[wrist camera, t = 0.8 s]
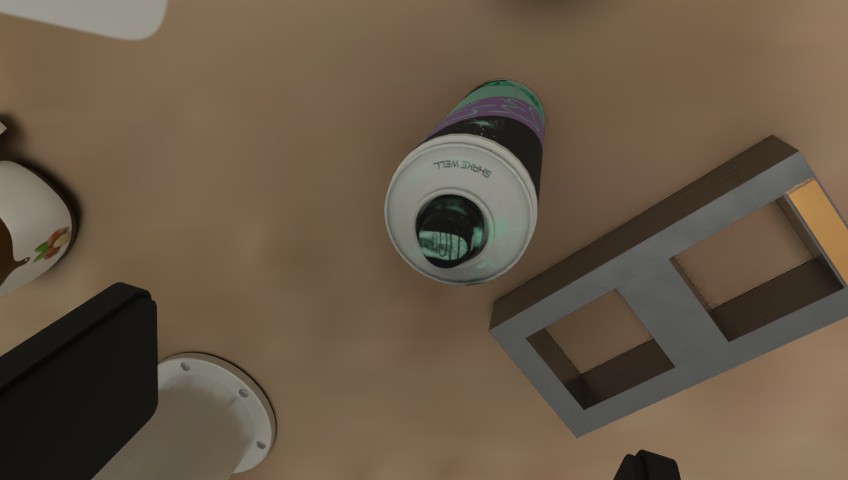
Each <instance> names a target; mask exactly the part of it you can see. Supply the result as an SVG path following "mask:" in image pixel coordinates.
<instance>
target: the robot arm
mask: <svg viewBox="0 0 848 480" xmlns="http://www.w3.org/2000/svg"><path fill="white" fill-rule="evenodd" d="M275 430H276V424H275V419H274V414H273V411H272V409H271V406H270V404H269V402H268V400H267V399H266V397H265V395H264V394H263V392H262V391H261V389H260V388H259V387H258V386H257V385H256V384H255V383H254V381H253V380H252V379H250V378H249V377H248V376H247V375H246V374H245V373H243V372H242V371H241V370H239V369H238V368H236V367H235V366H233V365H232V364H230V363H228V362H226V361H223V360H221V359H219V358H216V357H213V356H209V355H206V354H199V353H181V354H177V355H173V356H170V357H168V358H166V359H165V360H163V361H161V362H160V363H159V364H158V351H157V306H156V303H155V301H153V300H152V299H151V295H150V293H149V292H148V291H147V290H144V289H141V288H138V287H135V286H132V285H128V284H125V283H122V282H119V283H115V284H113V285H111V286H110V287H108V288H107V289H105V290H104V291H102V292H101V293H99V294H97V295H96V296H94V297H93V298H91V299H90V300H88V301H86V302H85V303H83V304H82V305H80V306H79V307H77V308H76V309H74V310H72V311H71V312H69V313H68V314H66V315H65V316H63V317H62V318H60V319H58V320H57V321H55V322H54V323H52V324H51V325H49V326H48V327H46V328H44V329H43V330H41V331H40V332H38V333H37V334H35V335H34V336H32V337H30V338H29V339H27V340H26V341H24V342H23V343H21V344H20V345H18V346H16V347H15V348H13V349H12V350H10V351H9V352H7V353H6V354H4V355H2V356H1V357H0V480H228V479H229V478H230V476H231V475H232V474H235V473H240V472H245V471H247V470H249V469H252V468H254V467H255V466H257V465H258V464H259V463H260V462H262V460H263V459H264V458H265V456H266V455H267V453H268V452H269V450H270V448H271V447H272V445H273V442H274V438H275ZM613 480H681V478H680V474H679V470H678V466H677V463H676V461H675V460H674V459H670V458H667V457H664V456H661V455H658V454H655V453H652V452H649V451H646V450H640V451H638V453H637V454H636V456H634V455H631V454H627V455H626V456H625V458H624V459H623V461H622V463H621V465H620V467H619V469H618V471H617V473H616V475H615V477H614V479H613Z"/></svg>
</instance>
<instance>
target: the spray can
mask: <svg viewBox="0 0 848 480" xmlns="http://www.w3.org/2000/svg"><path fill="white" fill-rule="evenodd" d="M544 131H545V117H544V112H543V108H542V106H541V103H540V101H539V100H538V98H537V97H536V95H535V94H534V93H533V92H532V91H531V90H530V89H529V88H528V87H526V86H525V85H523V84H521V83H519V82H516V81H513V80H508V79H495V80H491V81H487V82H485V83H483V84H481V85H479V86H477V87H476V88H475V89H473V90H472V91H471V92H470V93H469V94H468V95H467V96H466V97H465V98H464V99H463V100H462V101H461V102H460V103H459V104H458V105H457V106H456V107H455V108H454V109H453V110H452V111H451V112H450V113H449V114H448V115H447V116H446V117H445V118H444V119H443V120H442V121H441V122H440V123H439V124H438V125H437V126H436V127H435V128H434V129H433V130H432V131H431V132H430V133H429V134H428V135H427V136H426V137H425V138H424V139H423V141H422V142H421V143H420V144H419V145H418V146H417V147H416V148H415V149H414V150H413V151H412V152H411V153H410V154H409V155H408V156H407V157H406V158H405V159H404V160H403V162H402V163H401V164H400V165H399V167H398V169H397V170H396V172H395V174H394V176H393V178H392V181H391V183H390V185H389V188H388V191H387V194H386V198H385V208H384V214H385V223H386V227H387V231H388V234H389V237H390V239H391V241H392V243H393V245H394V247H395V249H396V250H397V252H398V253H399V254H400V255H401V257H402V258H403V259H404V260H405V261H406V262H407V263H408V264H409V265H410V266H411V267H412V268H414V269H415V270H416V271H418V272H419V273H421V274H423V275H424V276H426V277H428V278H430V279H433V280H436V281H438V282H441V283H446V284H451V285H466V286H468V285H474V284H481V283H484V282H487V281H490V280H493V279H495V278H497V277H498V276H500V275H502V274H504V273H505V272H507V271H508V270H509V269H510V268H511V267H512V266H513V265H515V264H516V263H517V261H518V260H519V259H520V257H521V256H522V255H523V253H524V252H525V250H526V248H527V246H528V244H529V242H530V240H531V237H532V235H533V233H534V230H535V225H536V220H537V213H538V201H539V190H540V178H541V166H542V154H543V142H544Z"/></svg>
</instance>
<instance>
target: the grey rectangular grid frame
mask: <svg viewBox="0 0 848 480" xmlns="http://www.w3.org/2000/svg"><path fill="white" fill-rule="evenodd" d="M774 200H776V202H777V203H778V205H779V206H780V208H781V209H782V211H783V212H784V214H785V215H786V217H787V218H788V220H789V221H790V223H791V224H792V226H793V227H794V229H795V230H796V232H797V233H798V235H799V236H800V238H801V239H802V241H803V242H804V244H805V245H806V247H807V248H808V250H809V251H810V253H811V254H812V256H813V257H814V259H812V260H810V261H808V262H806V263H804V264H802V265H800V266H798V267H796V268H794V269H792V270H790V271H788V272H786V273H784V274H782V275H780V276H778V277H776V278H774V279H772V280H770V281H768V282H766V283H764V284H762V285H760V286H758V287H756V288H754V289H752V290H750V291H748V292H746V293H744V294H742V295H740V296H738V297H736V298H734V299H732V300H730V301H728V302H726V303H724V304H722V305H720V306H718V307H716V308H714V309H711V308H710V307H709V305H708V304H707V302H706V301H705V300H704V298H703V297H702V295H701V294H700V293H699V291H698V290H697V289H696V287H695V286H694V284H693V283H692V282H691V280H690V279H689V278H688V276H687V275H686V273H685V272H684V271H683V269H682V268H681V266H680V265H679V264H678V262H677V261H676V260H675V258H674V257H673V256H674V255H676V254H678V253H680V252H682V251H683V250H685V249H687V248H689V247H691V246H692V245H694V244H696V243H698V242H700V241H701V240H703V239H705V238H707V237H709V236H710V235H712V234H714V233H716V232H718V231H719V230H721V229H723V228H725V227H727V226H728V225H730V224H732V223H734V222H736V221H737V220H739V219H741V218H743V217H745V216H747V215H748V214H750V213H752V212H754V211H756V210H757V209H759V208H761V207H763V206H765V205H766V204H768V203H770V202H772V201H774ZM615 288H616V289H617V290H618V292H619V293H620V294H621V295H622V297H623V298H624V299H625V301H626V302H627V303H628V305H629V306H630V307H631V309H632V310H633V311H634V313H635V314H636V315H637V317H638V318H639V319H640V321H641V322H642V323H643V325H644V326H645V327H646V329H647V330H648V331H649V333H650V334H651V335H652V336H653V338H654V339H652V340H650V341H648V342H646V343H644V344H642V345H640V346H638V347H636V348H634V349H632V350H630V351H628V352H626V353H624V354H622V355H620V356H618V357H616V358H614V359H612V360H610V361H608V362H606V363H604V364H602V365H600V366H598V367H596V368H594V369H592V370H590V371H588V372H586V373H584V374H582V375H581V374H580V372H579V371H578V370H577V369H576V367H575V366H574V365H573V364H572V362H571V361H570V360H569V359H568V357H567V356H566V355H565V354H564V352H563V351H562V350H561V349H560V347H559V346H558V345H557V344H556V342H555V341H554V340H553V339H552V337H551V336H550V335H549V334H548V332H547V331H546V330H545V329H544V327H546V326H548V325H550V324H552V323H553V322H555V321H557V320H559V319H561V318H563V317H564V316H566V315H568V314H570V313H572V312H573V311H575V310H577V309H579V308H581V307H582V306H584V305H586V304H588V303H590V302H591V301H593V300H595V299H597V298H599V297H600V296H602V295H604V294H606V293H608V292H609V291H611V290H613V289H615ZM847 316H848V226H847V224H846V222H845V221H844V219H843V218H842V216H841V215H840V213H839V212H838V210H837V208H836V207H835V205H834V204H833V202H832V201H831V199H830V198H829V196H828V194H827V193H826V191H825V190H824V188H823V187H822V185H821V184H820V182H819V180H818V179H817V177H816V176H815V174H814V173H813V171H812V170H811V168H810V166H809V165H808V163H807V162H806V160H805V159H804V157H803V156H802V154H801V153H800V151H799V150H797V149H795V148H794V147H792V146H790V145H789V144H787V143H785V142H783V141H782V140H780V139H778V138H777V137H775V136H773V135H771V136H769V137H768V138H766V139H764V140H763V141H761V142H759V143H758V144H756V145H755V146H753V147H751V148H750V149H748V150H746V151H745V152H743V153H741V154H740V155H738V156H736V157H735V158H733V159H731V160H730V161H728V162H726V163H725V164H723V165H721V166H720V167H718V168H716V169H715V170H713V171H711V172H710V173H708V174H706V175H705V176H703V177H701V178H700V179H698V180H696V181H695V182H693V183H691V184H690V185H688V186H686V187H685V188H683V189H681V190H680V191H678V192H676V193H675V194H673V195H671V196H670V197H668V198H666V199H665V200H663V201H661V202H660V203H658V204H656V205H655V206H653V207H651V208H650V209H648V210H646V211H645V212H643V213H641V214H640V215H638V216H636V217H635V218H633V219H631V220H630V221H628V222H626V223H625V224H623V225H621V226H620V227H618V228H617V229H615V230H613V231H612V232H610V233H608V234H607V235H605V236H603V237H602V238H600V239H598V240H597V241H595V242H593V243H592V244H590V245H588V246H587V247H585V248H583V249H582V250H580V251H578V252H577V253H575V254H573V255H572V256H570V257H568V258H567V259H565V260H563V261H562V262H560V263H558V264H557V265H555V266H553V267H552V268H550V269H548V270H547V271H545V272H543V273H542V274H540V275H538V276H537V277H535V278H533V279H532V280H530V281H528V282H527V283H525V284H523V285H522V286H520V287H518V288H517V289H515V290H513V291H512V292H510V293H508V294H507V295H505V296H503V297H502V298H500V299H498V300H497V301H495V302H494V307H493V312H492V317H491V322H490V327H489V332H490V333H491V334H492V336H493V337H494V338H495V339H496V341H497V342H498V343H499V344H500V345H501V347H502V348H503V349H504V350H505V351H506V353H507V354H508V355H509V356H510V358H511V359H512V360H513V361H514V362H515V364H516V365H517V366H518V367H519V368H520V370H521V371H522V372H523V373H524V375H525V376H526V377H527V378H528V379H529V381H530V382H531V383H532V384H533V385H534V387H535V388H536V389H537V390H538V392H539V393H540V394H541V395H542V396H543V398H544V399H545V400H546V401H547V402H548V404H549V405H550V406H551V407H552V409H553V410H554V411H555V412H556V413H557V415H558V416H559V417H560V418H561V420H562V421H563V422H564V423H565V424H566V426H567V427H568V428H569V429H570V430H571V432H572V433H573V434H574V435H575V437H576V438H578V437H580V436H582V435H584V434H587V433H589V432H591V431H593V430H596V429H598V428H600V427H602V426H604V425H607V424H609V423H611V422H613V421H616V420H618V419H620V418H622V417H625V416H627V415H629V414H631V413H633V412H636V411H638V410H640V409H642V408H645V407H647V406H649V405H651V404H654V403H656V402H658V401H660V400H662V399H665V398H667V397H669V396H671V395H674V394H676V393H678V392H680V391H682V390H685V389H687V388H689V387H691V386H694V385H696V384H698V383H700V382H703V381H705V380H707V379H709V378H711V377H714V376H716V375H718V374H720V373H723V372H725V371H727V370H729V369H732V368H734V367H736V366H738V365H740V364H743V363H745V362H747V361H749V360H752V359H754V358H756V357H758V356H760V355H763V354H765V353H767V352H769V351H772V350H774V349H776V348H778V347H781V346H783V345H785V344H787V343H789V342H792V341H794V340H796V339H798V338H801V337H803V336H805V335H807V334H810V333H812V332H814V331H816V330H818V329H821V328H823V327H825V326H827V325H830V324H832V323H834V322H836V321H838V320H841V319H843V318H845V317H847Z"/></svg>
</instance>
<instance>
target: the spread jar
mask: <svg viewBox="0 0 848 480" xmlns="http://www.w3.org/2000/svg"><path fill="white" fill-rule="evenodd" d="M6 129H7V128H6V127H5V126H4V125H3V124H2V123H1V122H0V134H1V133H3V132H4V131H5V130H6ZM75 235H76V218H75V214H74V211H73V209H72V207H71V205H70V203H69V202H68V200H67V199H66V197H65V196H64V195H63V194H62V192H61V191H60V190H59V189H58V188H57V187H56V186H55V185H54V184H53V183H51V182H50V181H49V180H48V179H46V178H45V177H43V176H42V175H40V174H39V173H37V172H35V171H34V170H32V169H30V168H28V167H26V166H24V165H21V164H19V163H15V162H11V161H0V298H1V297H3V296H5V295H7V294H9V293H11V292H12V291H14V290H16V289H18V288H20V287H22V286H24V285H26V284H27V283H29V282H31V281H32V280H34V279H36V278H37V277H39V276H40V275H41V274H43V273H44V272H46V271H47V270H48V269H49V268H51V267H52V266H53V265H54V264H55V263H56V262H57V261H58V260H59V259H60V258H61V257H62V256H63V255H64V254H65V253H66V252H67V250H68V249H69V248H70V246H71V245H72V243H73V241H74V238H75Z"/></svg>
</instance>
